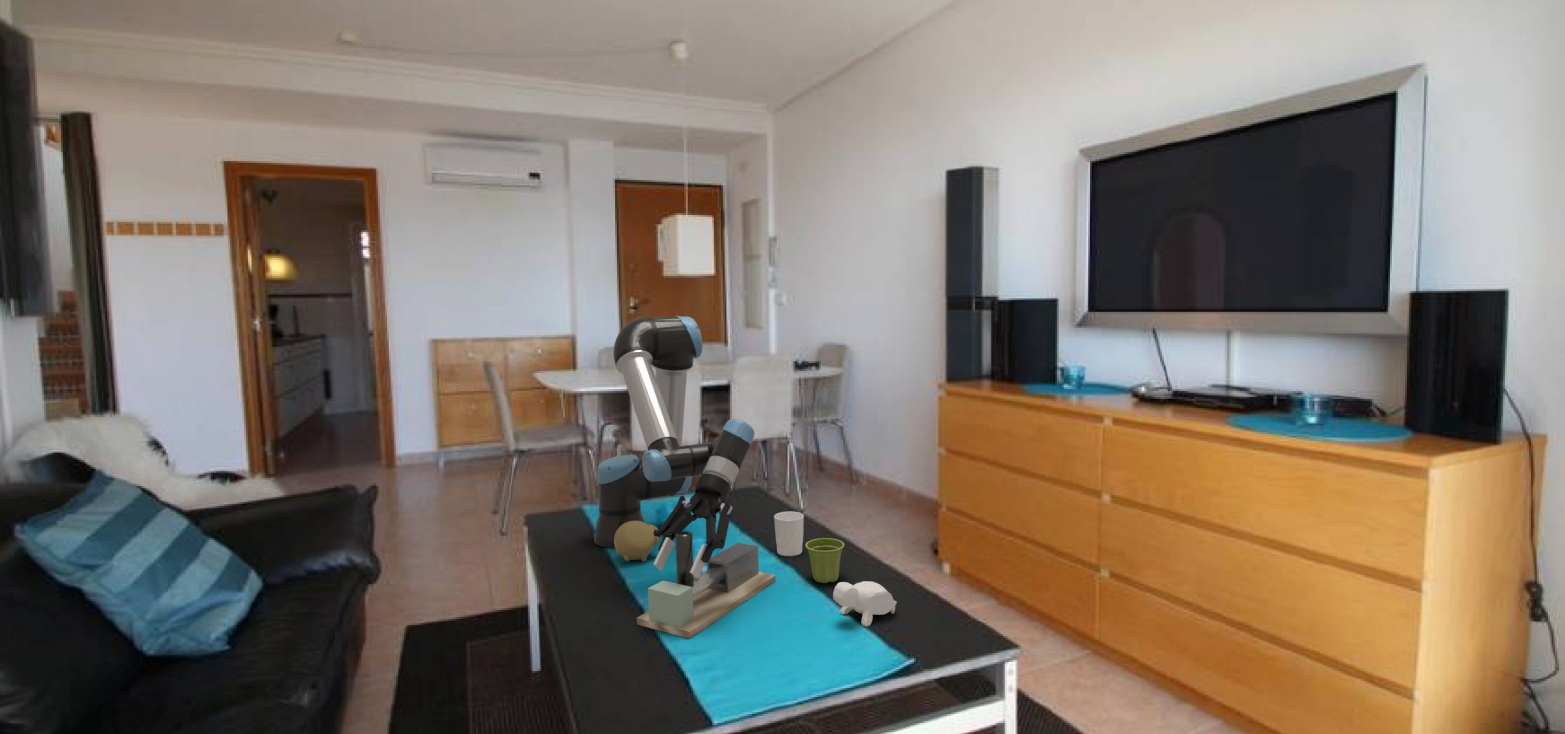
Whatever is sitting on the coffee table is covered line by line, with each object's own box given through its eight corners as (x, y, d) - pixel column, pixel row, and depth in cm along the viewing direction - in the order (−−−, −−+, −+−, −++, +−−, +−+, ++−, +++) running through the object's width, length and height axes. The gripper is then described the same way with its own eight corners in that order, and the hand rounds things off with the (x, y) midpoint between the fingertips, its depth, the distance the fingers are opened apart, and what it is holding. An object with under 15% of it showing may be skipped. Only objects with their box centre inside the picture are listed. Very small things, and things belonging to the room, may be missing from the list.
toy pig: (666, 559, 201) (665, 520, 200) (624, 570, 194) (622, 529, 193) (651, 549, 209) (649, 511, 208) (609, 559, 203) (607, 520, 201)
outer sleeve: (707, 588, 178) (706, 559, 177) (738, 569, 189) (738, 542, 188) (728, 592, 175) (727, 563, 174) (758, 573, 186) (758, 546, 185)
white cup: (804, 557, 201) (803, 520, 200) (774, 557, 201) (773, 520, 200) (804, 546, 209) (803, 511, 207) (775, 547, 209) (774, 511, 208)
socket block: (649, 619, 162) (647, 588, 161) (664, 610, 166) (662, 580, 165) (679, 627, 158) (677, 595, 157) (693, 618, 162) (692, 587, 161)
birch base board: (637, 624, 163) (636, 617, 163) (727, 571, 192) (727, 565, 192) (689, 638, 156) (689, 631, 156) (775, 581, 185) (775, 575, 185)
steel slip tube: (662, 608, 162) (659, 541, 160) (718, 575, 179) (716, 514, 178) (675, 612, 160) (672, 543, 158) (731, 578, 178) (729, 516, 176)
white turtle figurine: (867, 617, 171) (818, 609, 163) (877, 579, 172) (829, 570, 164) (894, 630, 164) (843, 623, 156) (904, 591, 165) (855, 582, 157)
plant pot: (799, 582, 184) (798, 547, 183) (816, 569, 192) (815, 535, 191) (835, 588, 180) (834, 553, 179) (850, 574, 188) (850, 540, 187)
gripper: (763, 495, 171) (725, 588, 159) (686, 483, 182) (645, 570, 171) (750, 477, 166) (709, 572, 154) (671, 466, 177) (627, 554, 165)
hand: (675, 571), depth 162 cm, fingers open, 9 cm apart
